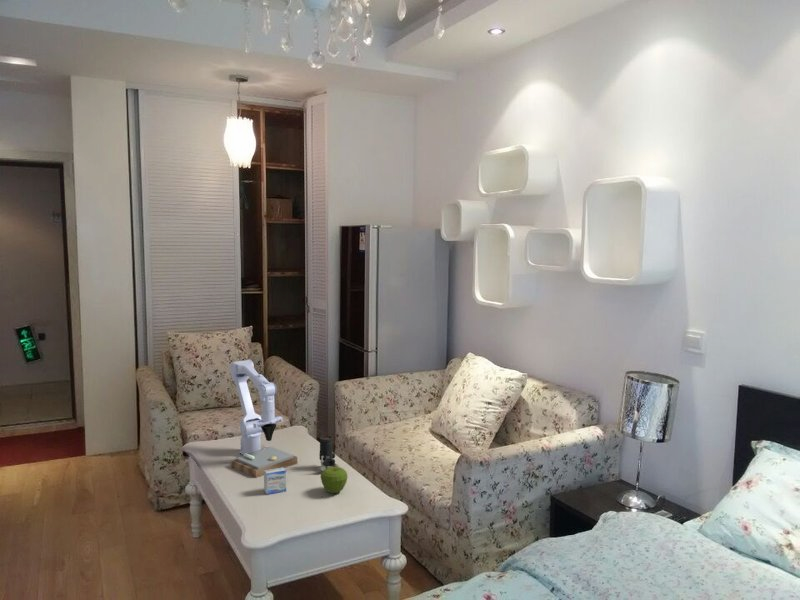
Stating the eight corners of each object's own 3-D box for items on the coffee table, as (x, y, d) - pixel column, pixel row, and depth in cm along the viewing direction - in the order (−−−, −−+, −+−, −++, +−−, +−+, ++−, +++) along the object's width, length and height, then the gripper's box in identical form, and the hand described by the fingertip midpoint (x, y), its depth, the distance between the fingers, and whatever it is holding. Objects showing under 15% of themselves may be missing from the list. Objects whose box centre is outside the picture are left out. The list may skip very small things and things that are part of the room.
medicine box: (267, 495, 238) (266, 473, 237) (264, 491, 242) (263, 469, 241) (286, 491, 241) (286, 470, 241) (283, 487, 245) (283, 466, 244)
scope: (320, 443, 257) (314, 436, 266) (320, 474, 258) (314, 466, 267) (339, 440, 260) (332, 433, 269) (339, 471, 262) (332, 464, 271)
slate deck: (235, 459, 267) (234, 453, 267) (270, 448, 281) (270, 443, 281) (258, 469, 256) (258, 463, 256) (293, 457, 270) (293, 451, 270)
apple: (316, 489, 243) (316, 465, 242) (340, 484, 248) (340, 460, 247) (327, 499, 234) (327, 474, 233) (352, 494, 239) (352, 469, 238)
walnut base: (231, 467, 267) (231, 460, 266) (272, 453, 283) (272, 447, 283) (256, 477, 255) (256, 470, 255) (297, 463, 271) (297, 456, 271)
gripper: (259, 415, 261) (260, 446, 263) (286, 408, 272) (287, 438, 274) (250, 412, 266) (250, 442, 267) (277, 405, 277) (277, 434, 278)
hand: (268, 440), depth 271 cm, fingers closed
